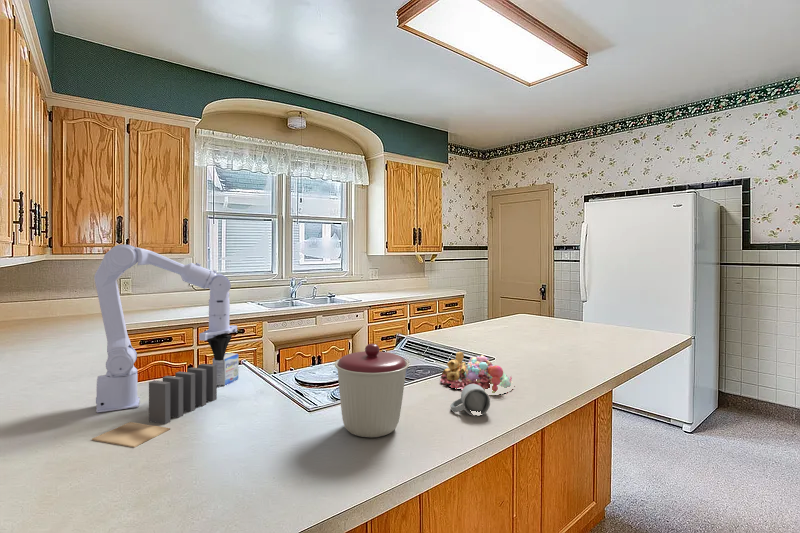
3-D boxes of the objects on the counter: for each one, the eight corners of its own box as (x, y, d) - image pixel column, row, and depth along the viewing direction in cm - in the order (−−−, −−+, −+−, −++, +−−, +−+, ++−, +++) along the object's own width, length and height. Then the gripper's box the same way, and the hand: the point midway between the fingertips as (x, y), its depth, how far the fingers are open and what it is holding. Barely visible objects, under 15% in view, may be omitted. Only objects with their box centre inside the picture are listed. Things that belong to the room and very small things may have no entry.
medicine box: (224, 386, 137) (224, 359, 137) (212, 385, 138) (212, 358, 138) (238, 379, 145) (239, 353, 144) (226, 378, 146) (227, 352, 145)
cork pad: (134, 447, 94) (134, 446, 94) (91, 440, 97) (91, 438, 97) (170, 429, 104) (170, 428, 104) (130, 423, 107) (130, 422, 107)
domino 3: (190, 411, 115) (190, 374, 115) (175, 409, 116) (175, 372, 116) (195, 409, 117) (195, 373, 116) (179, 407, 118) (179, 371, 118)
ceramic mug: (484, 406, 124) (484, 380, 123) (490, 416, 116) (490, 389, 116) (448, 406, 124) (448, 380, 123) (452, 416, 116) (452, 389, 116)
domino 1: (165, 424, 107) (165, 384, 106) (148, 421, 108) (148, 382, 108) (170, 421, 108) (170, 382, 108) (154, 419, 110) (154, 380, 109)
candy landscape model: (430, 388, 140) (431, 360, 139) (450, 370, 162) (450, 345, 161) (510, 399, 130) (510, 369, 130) (519, 379, 152) (519, 352, 152)
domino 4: (202, 406, 119) (202, 370, 119) (187, 404, 121) (187, 368, 120) (206, 404, 121) (206, 369, 120) (191, 402, 122) (191, 367, 122)
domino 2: (178, 417, 111) (178, 379, 111) (162, 415, 112) (162, 377, 112) (183, 415, 113) (183, 377, 112) (167, 413, 114) (167, 375, 113)
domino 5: (212, 401, 123) (213, 366, 123) (198, 399, 125) (198, 364, 124) (216, 399, 125) (216, 365, 125) (202, 397, 126) (202, 363, 126)
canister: (380, 453, 94) (382, 356, 93) (318, 433, 103) (319, 345, 103) (420, 425, 109) (422, 342, 108) (363, 410, 119) (364, 333, 118)
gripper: (214, 319, 121) (213, 367, 121) (245, 312, 135) (245, 355, 135) (192, 317, 123) (192, 365, 123) (226, 310, 137) (226, 353, 137)
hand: (219, 359), depth 129 cm, fingers closed
